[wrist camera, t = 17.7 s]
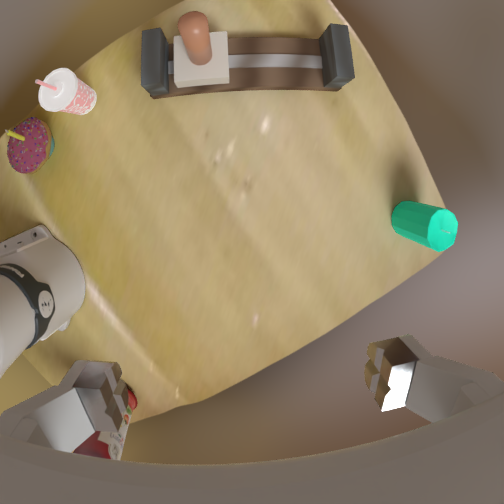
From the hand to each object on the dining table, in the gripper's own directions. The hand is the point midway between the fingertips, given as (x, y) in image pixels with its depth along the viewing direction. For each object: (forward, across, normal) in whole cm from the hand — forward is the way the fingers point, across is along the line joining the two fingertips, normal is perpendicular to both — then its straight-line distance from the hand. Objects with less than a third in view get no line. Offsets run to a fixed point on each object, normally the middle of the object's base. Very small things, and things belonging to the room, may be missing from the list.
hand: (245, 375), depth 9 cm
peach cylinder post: (+35, +3, -22) cm, 41 cm away
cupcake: (+37, +30, -14) cm, 50 cm away
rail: (+37, -3, -22) cm, 43 cm away
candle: (+37, -28, +2) cm, 47 cm away
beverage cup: (+37, +22, -20) cm, 48 cm away
